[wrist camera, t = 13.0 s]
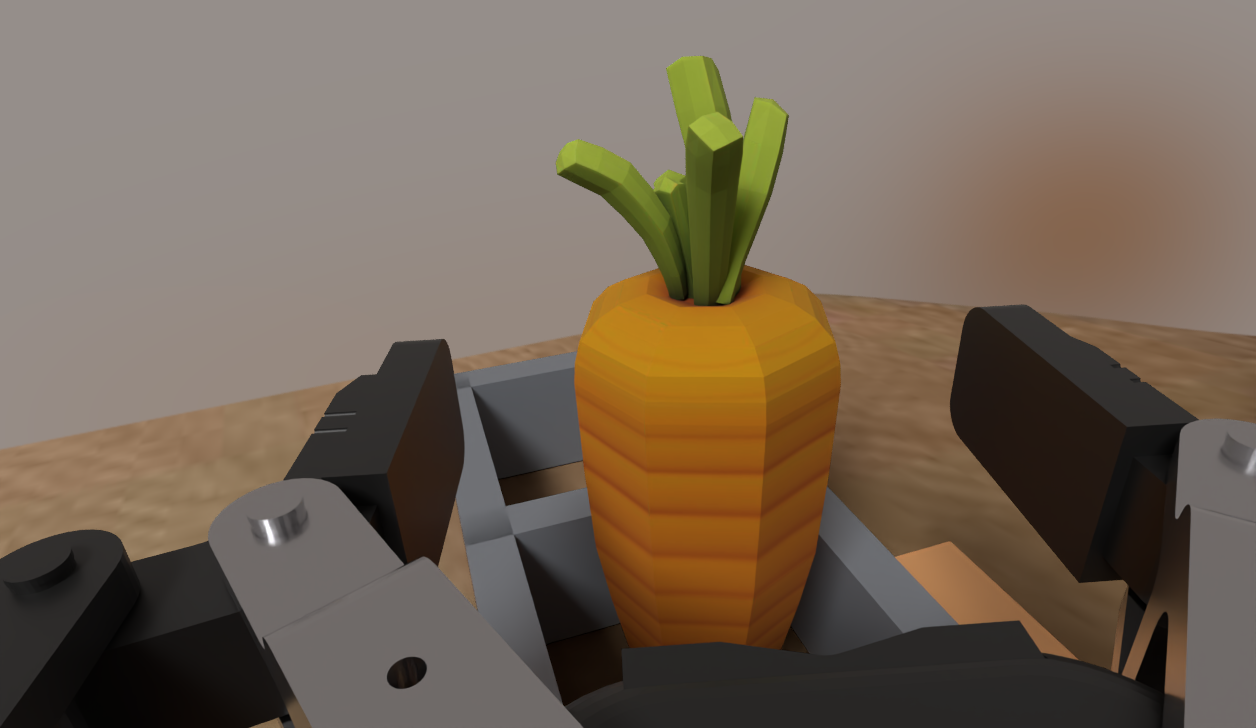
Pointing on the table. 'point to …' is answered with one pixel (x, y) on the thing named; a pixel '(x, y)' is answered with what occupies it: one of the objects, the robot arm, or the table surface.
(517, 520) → the socket block
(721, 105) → the carrot
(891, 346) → the table surface
